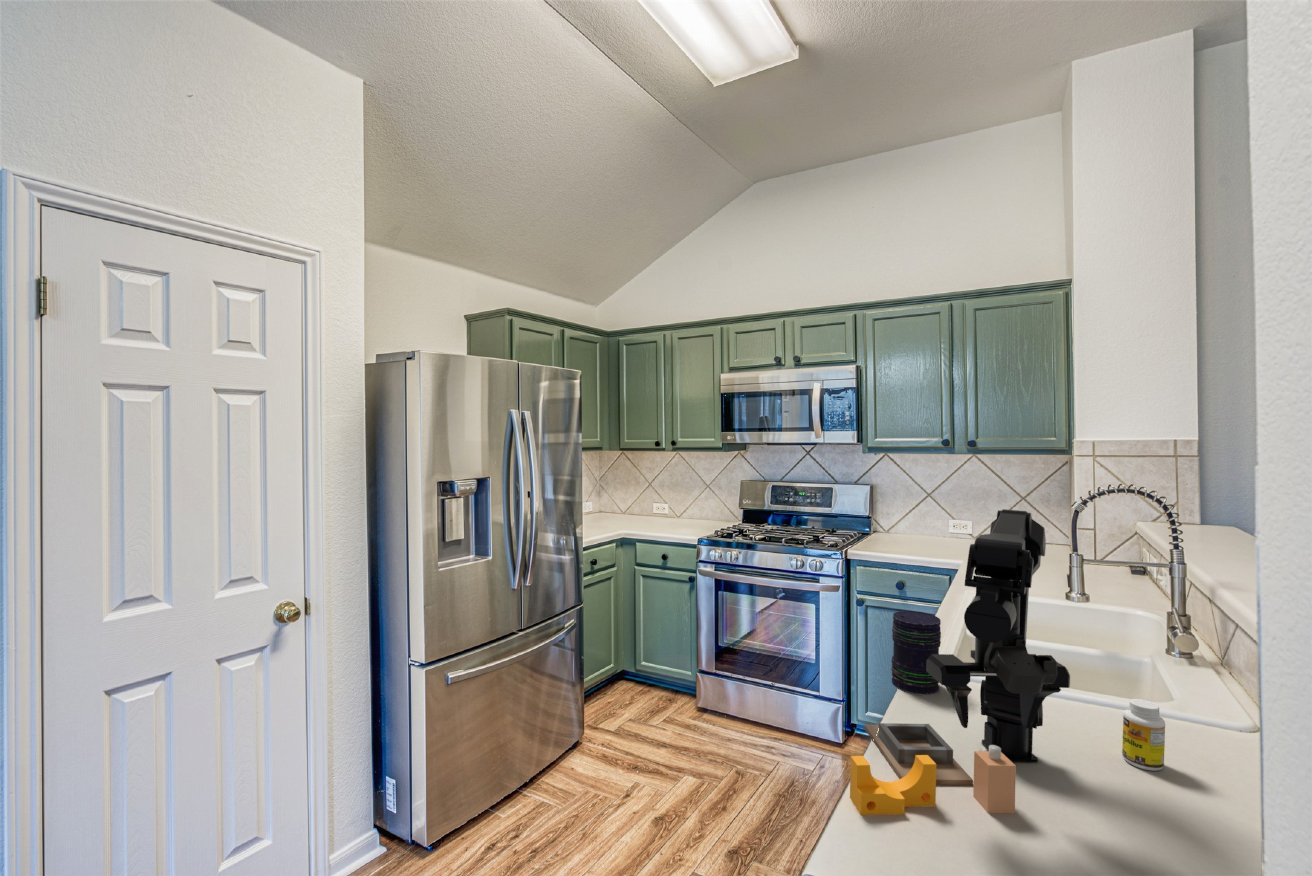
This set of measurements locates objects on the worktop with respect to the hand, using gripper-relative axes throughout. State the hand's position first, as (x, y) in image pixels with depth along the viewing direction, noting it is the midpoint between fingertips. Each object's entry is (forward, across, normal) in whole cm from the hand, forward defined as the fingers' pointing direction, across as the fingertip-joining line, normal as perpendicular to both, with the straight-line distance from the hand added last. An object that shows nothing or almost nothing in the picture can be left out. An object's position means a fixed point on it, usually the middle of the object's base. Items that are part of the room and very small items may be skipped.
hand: (995, 727), depth 92 cm
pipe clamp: (+12, -15, -1) cm, 19 cm away
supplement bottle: (+12, +32, +12) cm, 36 cm away
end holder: (+12, -6, +14) cm, 19 cm away
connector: (+12, 0, 0) cm, 12 cm away
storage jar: (+12, +6, +43) cm, 45 cm away
